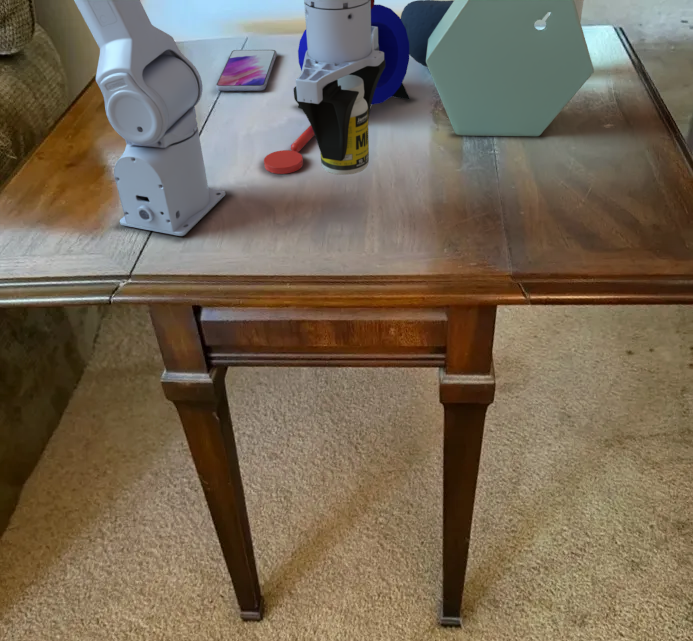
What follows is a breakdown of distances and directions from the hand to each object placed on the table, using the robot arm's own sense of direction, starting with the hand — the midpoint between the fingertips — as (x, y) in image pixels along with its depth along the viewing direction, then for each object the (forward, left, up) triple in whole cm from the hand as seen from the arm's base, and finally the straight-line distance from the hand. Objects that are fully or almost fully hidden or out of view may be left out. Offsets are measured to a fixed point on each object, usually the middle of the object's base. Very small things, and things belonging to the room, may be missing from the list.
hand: (344, 146), depth 74 cm
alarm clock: (+30, +11, -9) cm, 33 cm away
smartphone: (+36, +30, -9) cm, 48 cm away
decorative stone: (+46, +3, -9) cm, 47 cm away
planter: (+29, -10, -9) cm, 32 cm away
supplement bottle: (0, 0, -2) cm, 2 cm away
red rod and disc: (+15, +12, -9) cm, 21 cm away
